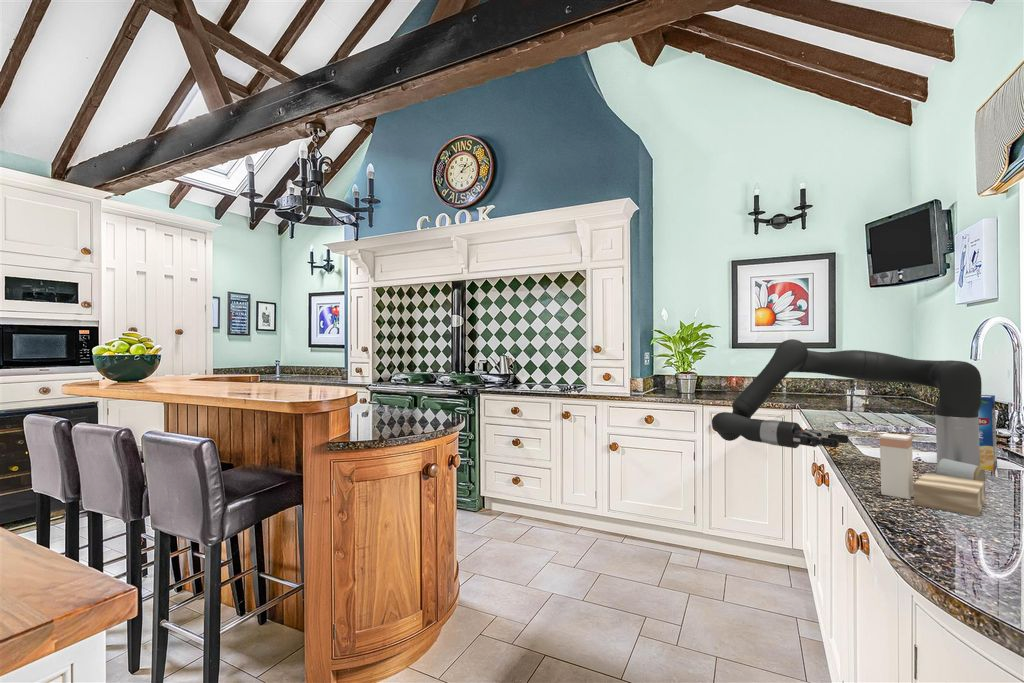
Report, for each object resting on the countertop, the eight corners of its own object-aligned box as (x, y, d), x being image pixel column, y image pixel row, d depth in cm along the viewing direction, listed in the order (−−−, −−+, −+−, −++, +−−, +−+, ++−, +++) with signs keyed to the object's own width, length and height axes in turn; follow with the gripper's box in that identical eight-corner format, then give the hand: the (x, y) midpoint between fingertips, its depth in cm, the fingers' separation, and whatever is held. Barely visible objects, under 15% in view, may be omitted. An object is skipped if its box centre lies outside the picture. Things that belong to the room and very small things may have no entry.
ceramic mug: (977, 497, 119) (976, 466, 119) (935, 489, 125) (934, 460, 126) (990, 490, 124) (990, 460, 124) (949, 483, 131) (949, 455, 131)
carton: (886, 489, 126) (884, 433, 126) (913, 494, 122) (912, 435, 122) (881, 494, 122) (879, 436, 123) (908, 499, 118) (907, 438, 118)
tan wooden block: (925, 492, 123) (925, 472, 123) (985, 502, 115) (984, 481, 115) (914, 504, 114) (913, 483, 114) (977, 516, 106) (977, 493, 106)
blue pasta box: (994, 471, 141) (991, 397, 142) (945, 464, 150) (942, 394, 150) (997, 467, 146) (995, 395, 146) (949, 460, 154) (947, 393, 154)
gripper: (770, 423, 139) (834, 431, 126) (789, 418, 148) (851, 425, 136) (770, 449, 139) (834, 459, 126) (789, 442, 148) (851, 451, 136)
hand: (843, 441), depth 131 cm, fingers open, 8 cm apart
